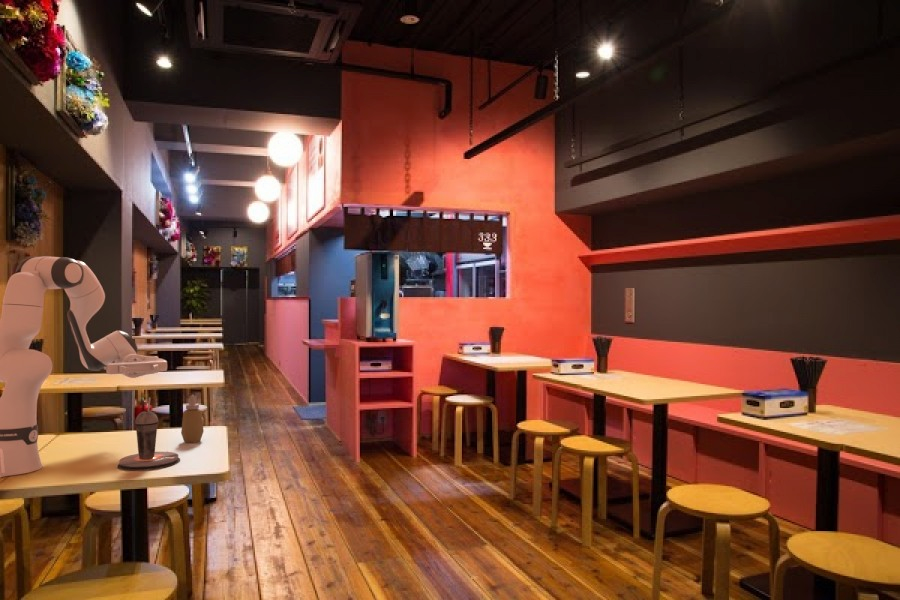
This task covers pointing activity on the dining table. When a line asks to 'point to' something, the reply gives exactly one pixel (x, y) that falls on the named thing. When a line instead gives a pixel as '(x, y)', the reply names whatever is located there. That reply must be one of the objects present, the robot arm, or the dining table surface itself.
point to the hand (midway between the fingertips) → (141, 368)
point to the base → (148, 468)
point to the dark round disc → (148, 460)
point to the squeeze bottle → (192, 422)
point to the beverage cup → (146, 433)
